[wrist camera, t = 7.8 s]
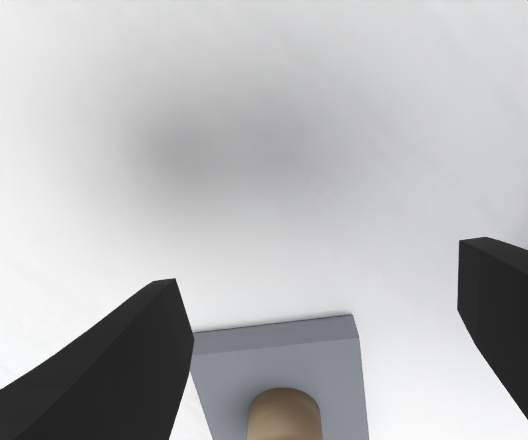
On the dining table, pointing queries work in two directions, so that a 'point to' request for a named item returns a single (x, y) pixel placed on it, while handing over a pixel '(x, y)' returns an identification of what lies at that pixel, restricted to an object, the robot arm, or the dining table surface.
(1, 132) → the dining table surface
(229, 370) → the plate
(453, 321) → the dining table surface
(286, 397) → the oak cylinder
